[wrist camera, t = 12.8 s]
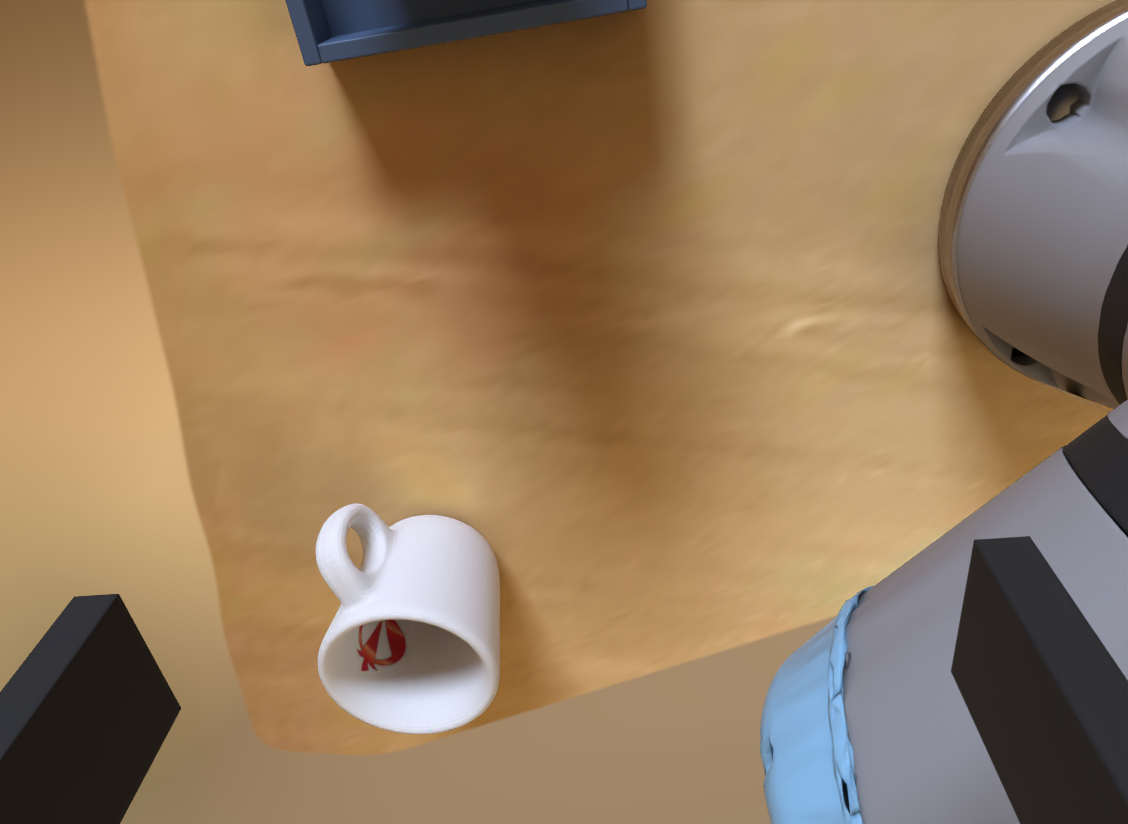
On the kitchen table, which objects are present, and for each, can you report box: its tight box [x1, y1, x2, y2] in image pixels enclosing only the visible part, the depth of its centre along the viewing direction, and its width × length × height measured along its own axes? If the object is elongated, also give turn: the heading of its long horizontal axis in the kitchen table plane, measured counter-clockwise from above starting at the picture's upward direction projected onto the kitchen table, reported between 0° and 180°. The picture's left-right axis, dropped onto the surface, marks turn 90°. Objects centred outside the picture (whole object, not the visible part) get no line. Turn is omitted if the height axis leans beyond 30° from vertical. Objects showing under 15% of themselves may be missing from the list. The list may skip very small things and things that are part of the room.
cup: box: [316, 504, 500, 734], centre depth 38 cm, size 11×8×8 cm
